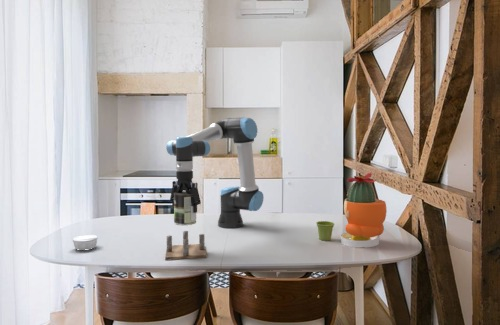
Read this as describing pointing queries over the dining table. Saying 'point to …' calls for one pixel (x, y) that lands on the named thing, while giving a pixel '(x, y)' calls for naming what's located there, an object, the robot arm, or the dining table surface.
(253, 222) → the dining table surface
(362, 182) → the potted cactus
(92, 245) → the ramekin
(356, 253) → the dining table surface
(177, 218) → the coffee can
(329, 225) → the plant pot
